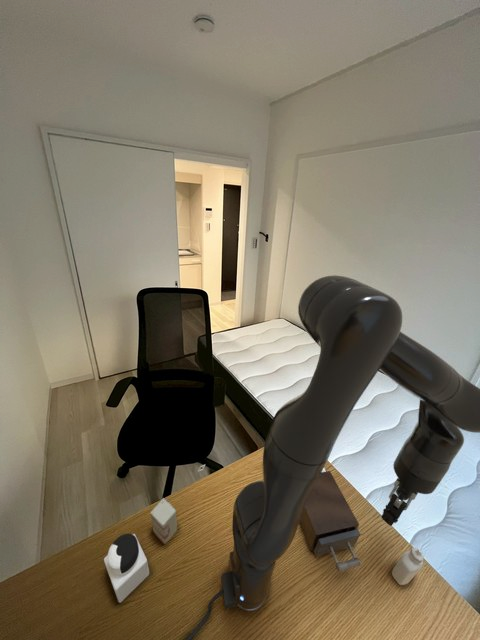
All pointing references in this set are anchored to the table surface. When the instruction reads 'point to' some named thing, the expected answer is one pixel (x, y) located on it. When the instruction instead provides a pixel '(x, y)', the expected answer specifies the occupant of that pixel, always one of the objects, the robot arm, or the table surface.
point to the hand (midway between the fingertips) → (393, 507)
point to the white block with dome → (126, 565)
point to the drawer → (338, 546)
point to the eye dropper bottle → (408, 566)
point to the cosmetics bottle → (164, 520)
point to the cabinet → (325, 510)
